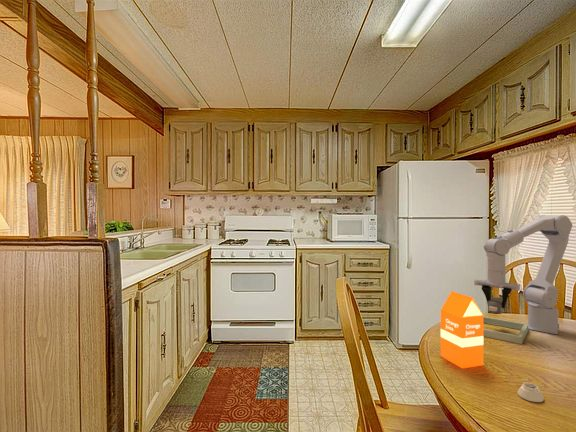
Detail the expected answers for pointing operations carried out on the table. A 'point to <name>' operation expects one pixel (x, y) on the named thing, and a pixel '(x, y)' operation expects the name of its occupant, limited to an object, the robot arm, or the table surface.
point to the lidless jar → (530, 392)
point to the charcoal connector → (495, 305)
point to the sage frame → (505, 336)
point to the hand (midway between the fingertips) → (496, 306)
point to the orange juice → (462, 331)
